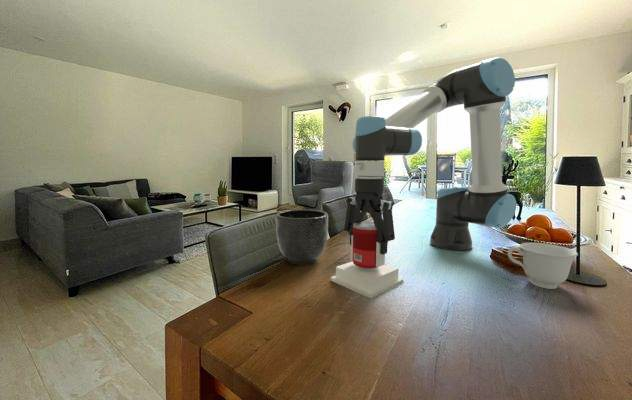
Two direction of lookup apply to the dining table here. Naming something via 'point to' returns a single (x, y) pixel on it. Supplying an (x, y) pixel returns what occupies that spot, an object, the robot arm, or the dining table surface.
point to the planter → (302, 235)
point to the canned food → (364, 244)
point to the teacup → (545, 263)
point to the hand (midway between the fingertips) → (367, 260)
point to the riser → (367, 278)
